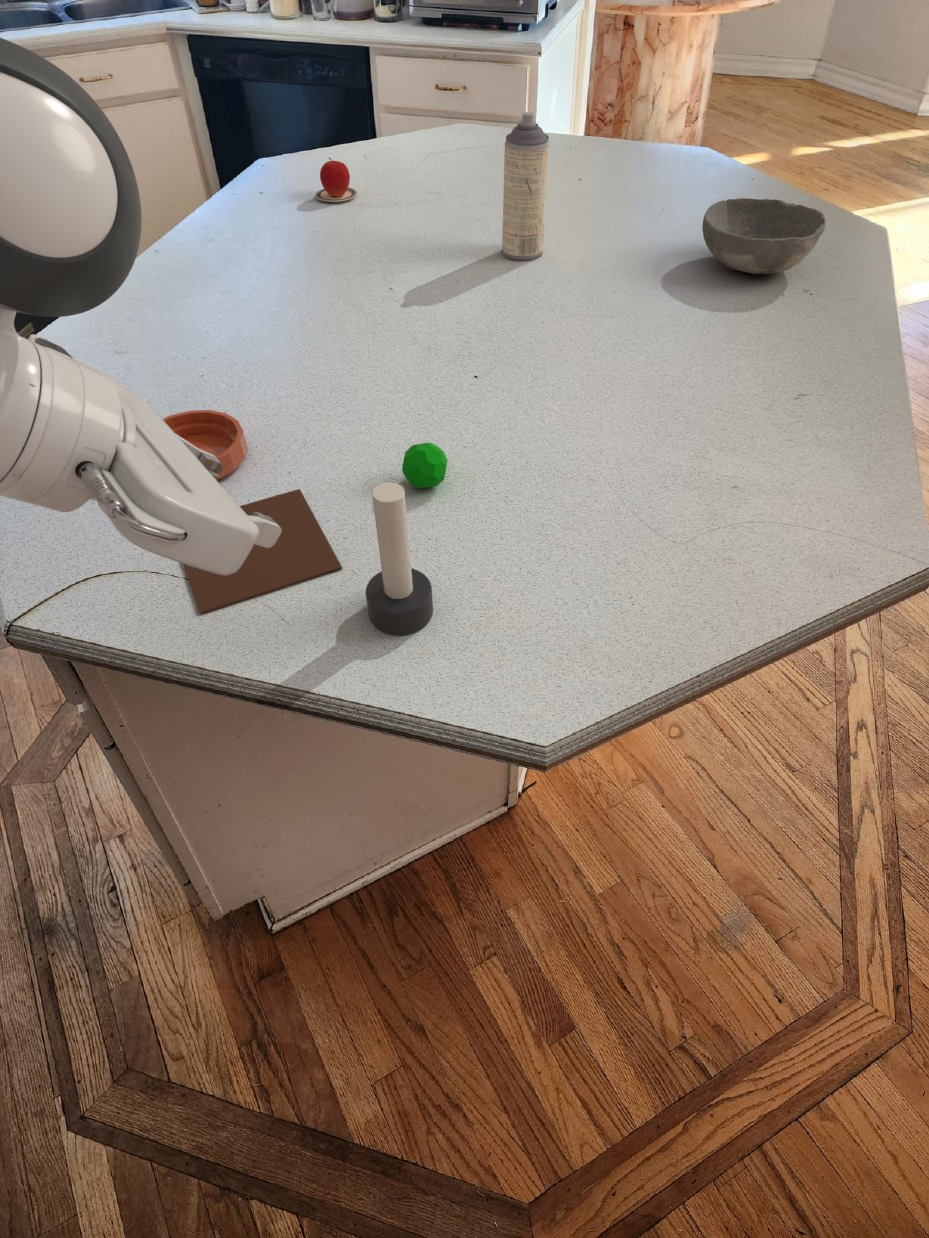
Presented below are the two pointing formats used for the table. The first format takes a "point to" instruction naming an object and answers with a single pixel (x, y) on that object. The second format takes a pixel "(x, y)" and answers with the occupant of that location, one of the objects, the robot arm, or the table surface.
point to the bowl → (761, 234)
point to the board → (270, 557)
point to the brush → (396, 570)
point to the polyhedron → (424, 465)
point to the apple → (335, 183)
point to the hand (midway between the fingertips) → (243, 500)
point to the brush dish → (212, 435)
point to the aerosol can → (524, 190)
